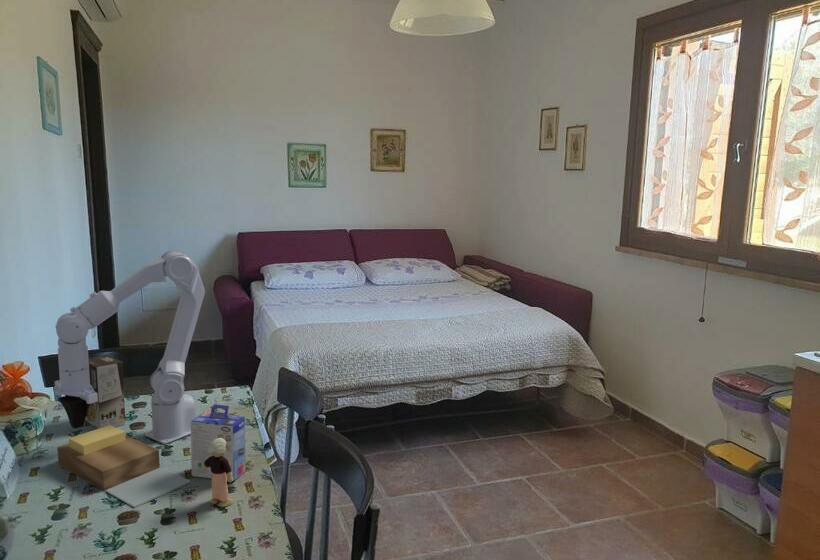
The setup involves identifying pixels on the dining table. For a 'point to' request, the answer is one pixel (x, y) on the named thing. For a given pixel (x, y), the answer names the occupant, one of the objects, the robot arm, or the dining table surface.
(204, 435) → the ink cartridge box
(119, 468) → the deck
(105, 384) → the coffee box
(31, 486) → the dining table surface
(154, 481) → the mat
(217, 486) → the grandmother figurine
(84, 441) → the pale yellow foam brick
